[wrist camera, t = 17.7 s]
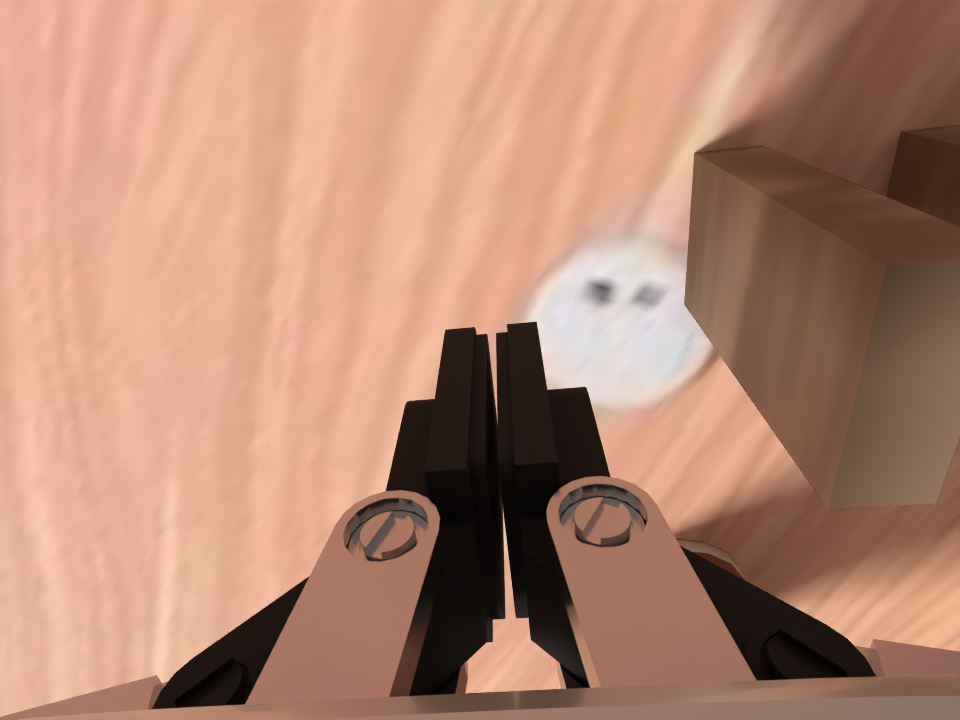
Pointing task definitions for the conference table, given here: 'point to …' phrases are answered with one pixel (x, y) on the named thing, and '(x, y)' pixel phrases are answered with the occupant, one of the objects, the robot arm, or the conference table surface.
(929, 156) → the domino
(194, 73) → the conference table surface
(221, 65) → the conference table surface
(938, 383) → the domino
